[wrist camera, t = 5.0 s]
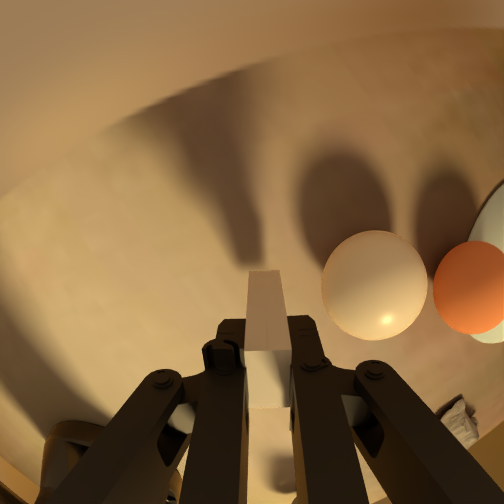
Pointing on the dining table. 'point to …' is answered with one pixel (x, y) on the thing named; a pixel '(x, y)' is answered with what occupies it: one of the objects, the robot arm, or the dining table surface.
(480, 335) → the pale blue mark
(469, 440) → the mineral specimen
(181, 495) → the robot arm
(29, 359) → the dining table surface
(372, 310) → the cue ball
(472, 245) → the object ball
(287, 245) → the dining table surface
